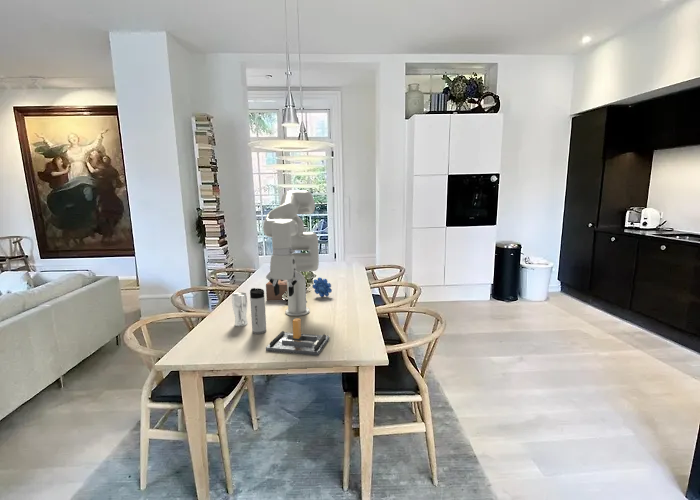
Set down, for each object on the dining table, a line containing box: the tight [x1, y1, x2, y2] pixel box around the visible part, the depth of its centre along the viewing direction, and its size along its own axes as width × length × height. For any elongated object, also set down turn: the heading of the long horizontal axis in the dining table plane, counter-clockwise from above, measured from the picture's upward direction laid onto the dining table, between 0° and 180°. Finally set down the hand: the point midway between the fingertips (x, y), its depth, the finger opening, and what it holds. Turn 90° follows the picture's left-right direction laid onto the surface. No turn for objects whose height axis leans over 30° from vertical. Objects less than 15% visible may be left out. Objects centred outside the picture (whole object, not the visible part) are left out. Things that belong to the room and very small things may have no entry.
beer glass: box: [231, 291, 248, 327], centre depth 175 cm, size 7×7×15 cm
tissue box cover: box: [265, 280, 287, 301], centre depth 225 cm, size 26×14×10 cm, turn 175°
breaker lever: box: [292, 317, 302, 341], centre depth 152 cm, size 4×3×9 cm
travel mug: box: [249, 287, 267, 335], centre depth 165 cm, size 6×7×20 cm
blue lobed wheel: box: [311, 277, 333, 298], centre depth 217 cm, size 12×7×12 cm, turn 88°
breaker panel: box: [265, 331, 330, 356], centre depth 152 cm, size 16×22×3 cm
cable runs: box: [269, 330, 327, 350], centre depth 152 cm, size 13×20×1 cm, turn 77°
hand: (284, 294), depth 150 cm, fingers open, 5 cm apart
